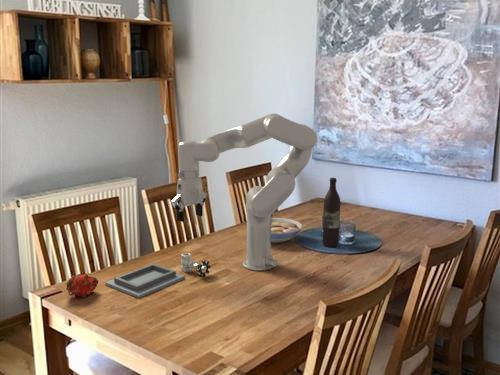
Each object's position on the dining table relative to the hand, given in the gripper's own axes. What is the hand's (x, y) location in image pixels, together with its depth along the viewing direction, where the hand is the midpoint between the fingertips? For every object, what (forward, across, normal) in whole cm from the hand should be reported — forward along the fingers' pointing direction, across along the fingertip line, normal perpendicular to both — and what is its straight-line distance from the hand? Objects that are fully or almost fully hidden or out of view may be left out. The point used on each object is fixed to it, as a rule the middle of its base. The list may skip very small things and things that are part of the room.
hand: (190, 218), depth 207 cm
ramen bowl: (+20, +48, -4) cm, 52 cm away
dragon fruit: (+20, -42, +9) cm, 47 cm away
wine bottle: (+20, +59, -26) cm, 68 cm away
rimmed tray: (+20, -20, +2) cm, 29 cm away
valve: (+20, -3, -4) cm, 21 cm away
